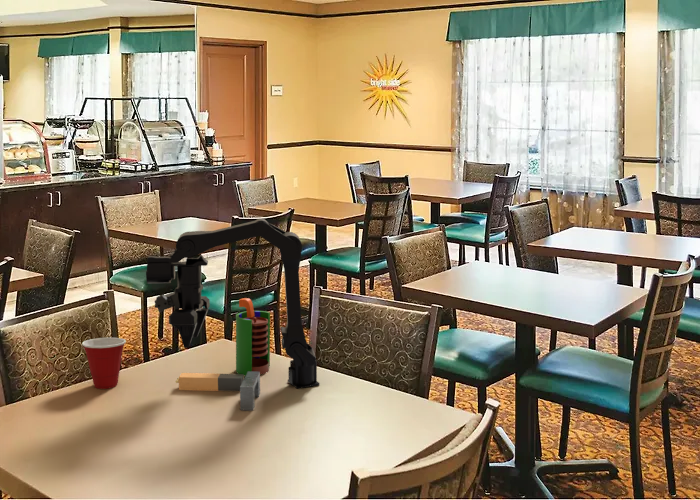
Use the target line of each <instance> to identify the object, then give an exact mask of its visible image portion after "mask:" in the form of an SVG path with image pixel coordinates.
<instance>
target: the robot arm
mask: <svg viewBox="0 0 700 500" xmlns="http://www.w3.org/2000/svg"><path fill="white" fill-rule="evenodd" d="M256 237H261V239H264V240H265V241H266V242H268V243H269V244H271V245H272V246H274V247H276V248H277V249H279V253H280V258H281V262H282V265H283V273H284V288H285V290H284V291H285V304H286V326H285V327H283V326H281V327H280V331H281V337H282V338H281V347H282V349H283V350H284V349H285V350H284V351H285V353H286V355H287V356H288V357H289V358H290V359H292V360H290V361H289V366H288V379H287V383H289V384H290V385H292V386H293V387H294V388H295V389H304V388H309V387H315V386H320V382H319V381H318V374H317V372H318V371H317V370H318V369H317V368H318V367H317V366H318V364H317V362H318V360H316V359H317V357H316V354H315V350H314V348H313V347H312V346H311V345H310V344H309V343H308V342H307V339H306V338H307V337H306V335H305V331H304V327H303V323H302V307H301V289H300V266H301V265H300V263H301V261H302V260H301V259H302V253H303V252H302V250H303V245H302V241H301V239H300V237H299V235H297V234H296V233H295V232H292V231H285V230H283V229H281V228H279V227H278V226H276V225H273V224H272V223H270V222H268V221H267V220H266V219H264V218H257V219H256V220H252V221H249V222H244V223H241V224H236V225H232V226H227V227H223V228H219V229H215V230H193V231H191V230H190V231H186V232H183V233H182V234H180V235H179V236H178V239H177V240H176V242H175V243H176V244H175V249H174V250H173V251H172V252H171V253H170V255H169V256H156V255H148V257H147V258H146V260H147V264H146V271H145V276H146V277H145V280H146V284H171V283H172V282H171V281H172V280H175V279H176V274H177V287H175V289H174V291H173V292H170V293H168V294H165V293H164V294H161V295H157V296H156V299H154V308H155V309H157V311H158V312H159V313H162V312H164V311H165V310H169V309H172V308H174V310H173V311H172V313H170V315H169V316H168V324H169V325H170V326H172V327H174V328H176V330H178V332H179V335H180V336H179V337H180V339H181V342H182V346H183V348H184V349H189V348H190V347H191V343H192V339H193V338H194V339H197V338H198V336H199V333H200V332H201V329H202V326H203V324H204V321H205V318H206V316H207V314H208V311H209V308H210V306H211V305H210V304H211V303H210V302H211V301H210V298H209V297H207V295H202V290H203V289H204V284H202V274H201V272H202V271H201V270H202V269H201V267H203V266H204V267H205V266H208V263H209V261H208V260H207V259H206V258H205V257H204V256H203V255H202V254H203V253H205V252H208V251H209V250H211V249H212V248H216V247H219V246H224V245H228V244H231V243H236V242H240V241H243V240H249V239H253V238H256ZM198 255H199V256H198ZM197 256H198V257H197ZM184 259H185V260H184ZM182 260H184V261H182ZM176 267H177V268H176ZM176 269H177V271H176ZM176 272H177V273H176Z"/></svg>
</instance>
